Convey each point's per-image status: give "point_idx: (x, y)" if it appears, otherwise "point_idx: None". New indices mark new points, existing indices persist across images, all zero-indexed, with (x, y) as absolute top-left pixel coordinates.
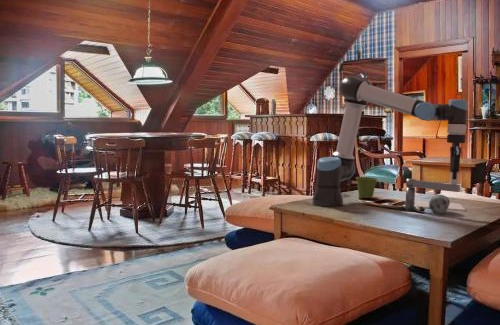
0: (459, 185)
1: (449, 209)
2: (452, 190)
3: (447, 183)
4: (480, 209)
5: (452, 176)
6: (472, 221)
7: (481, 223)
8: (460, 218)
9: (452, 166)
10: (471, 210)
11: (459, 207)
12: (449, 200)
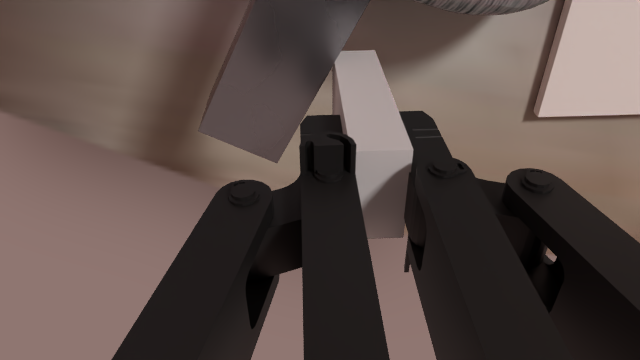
0: (247, 148)
1: (565, 7)
2: (229, 49)
3: (347, 24)
4: (608, 200)
5: (344, 132)
6: (159, 98)
7: (124, 137)
8: (229, 38)
9: (304, 237)
10: (566, 149)
11: (617, 89)
12: (451, 11)
